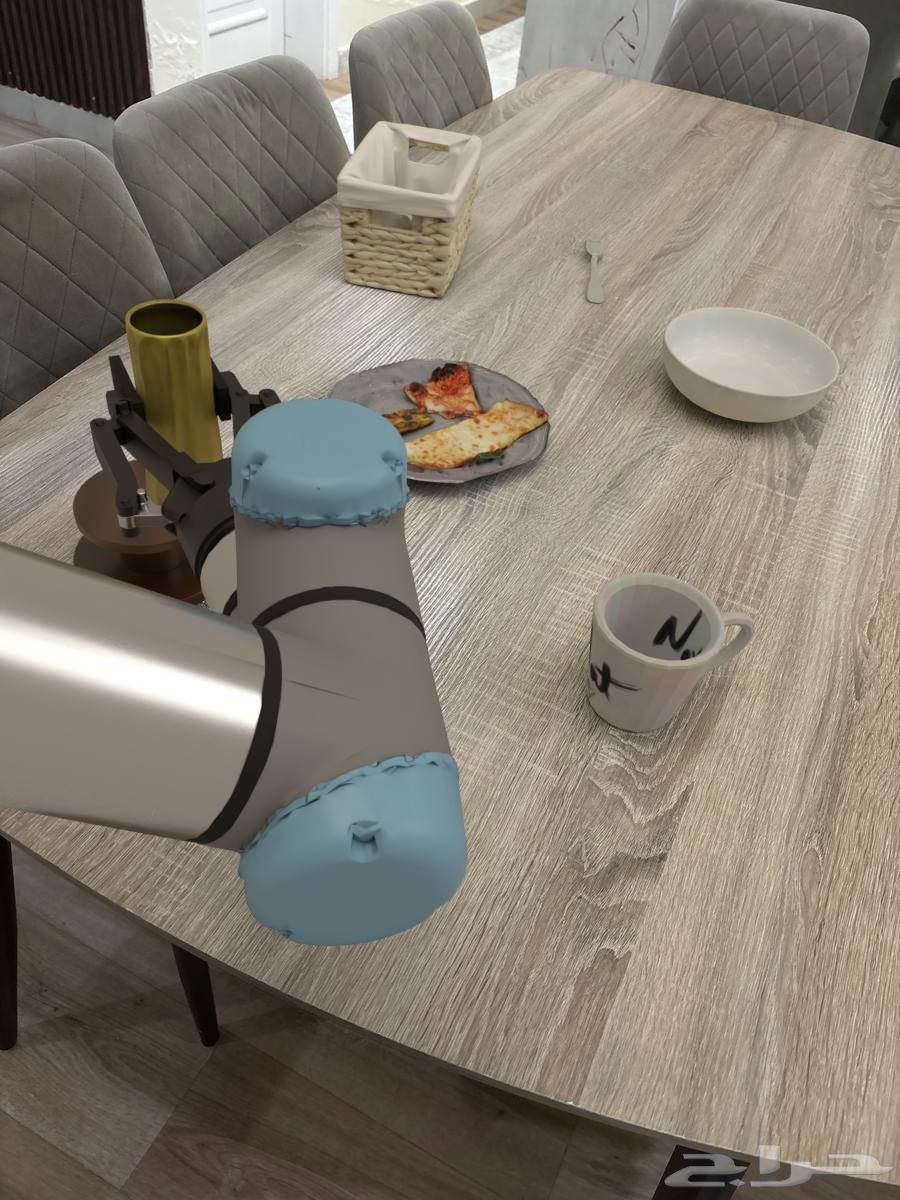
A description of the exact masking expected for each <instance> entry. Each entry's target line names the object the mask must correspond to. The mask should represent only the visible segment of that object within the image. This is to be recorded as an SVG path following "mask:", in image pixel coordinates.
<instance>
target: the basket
mask: <svg viewBox="0 0 900 1200" xmlns="http://www.w3.org/2000/svg"><path fill="white" fill-rule="evenodd" d="M410 147H413V148H416V147H417V148H420V149H428V150H430V151H431V150H434V151H435V152H438V151H439V152H446V153H448V164H447V165H436V164H430V163H424V162H419V161H413V160H410V158H409V153H410ZM483 152H484V142H483V140H482V139H481V137H480V136H478V135H476V134H475V135H474V134H473V135H471V134H466V133H463V132H456V131H450V130H445V129H438V128H433V127H426V126H420V125H415V124H409V123H397V122H391V121H385V120H384V121H383V120H379V121H378V122H376V123H375V124H374V126H372V128H371V129H370V130H369V131H368V132H367V134H366V135H365V136H364V138H363V139H362V140H361V141H360V143H359V144H358V145H357V147H356V149H355V150H354V152H353V153H352V155H351V156H350V157H349V159H348V160H347V161H346V162H345V164H344V166H343V167H342V168H341V170H340V172H339V174H338V175H337V178H336V181H337V186H336V190H337V193H336V204H337V209H338V213H339V216H338V217H339V218H338V219H339V222H340V225H339V227H340V238H341V245H340V246H341V254H342V259H343V262H344V264H343V269H344V270H343V272H344V273H343V274H344V279H345V280H346V281H347V282H348V283H350V284H354V285H360V286H366V287H370V288H375V289H383V290H387V291H392V292H399V293H400V292H401V293H404V294H410V295H419V296H420V297H426V298H442V297H444V296H445V294H446V291H447V290H448V288H449V286H450V283H451V282H452V280H453V278H454V273H455V274H456V272H457V270H458V269H459V268H458V266H459V265H460V263H461V259H462V256H463V255H464V250H465V248H466V245H467V241H468V239H469V235H470V234H469V232H470V228H471V227H470V226H471V222H472V219H471V218H472V213H473V212H474V211H473V209H474V205H473V204H475V202H474V200H475V197H476V189H475V188H476V185H477V181H478V178H479V173H478V172H480V168H481V162H482V160H483Z"/></svg>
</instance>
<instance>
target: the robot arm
mask: <svg viewBox="0 0 900 1200" xmlns="http://www.w3.org/2000/svg"><path fill="white" fill-rule="evenodd" d="M210 357H211V366H212V374H213V382H214V389H215V397H216V406H217V415H218V419H219V420H220V422H227V421H231V420H232V434H233V443H232V448H231V452H230V453H231V455H230V456H229V457H223V458H224V459H221V460H219V461H216V462H211V463H196V462H195V461H194V460H193V459H192V458H191V457H190V456H189V455H188V454H187V453H185V452H181V453H179V452H178V451H177V450H176V449H175V448H174V447H173V446H172V445H170V444H169V443H168V442H167V441H166V440H165V439H164V438H163V437H162V436H161V435H160V434H158V433H157V432H156V431H155V430H154V429H153V428H152V427H151V426H150V425H149V424H147V423H146V422H145V421H144V415H143V409H142V402H141V400H140V398H139V396H138V394H137V393H136V388H135V384H134V382H133V381H132V378H131V377H130V374H129V373H128V371H127V369H126V365H125V364H124V361H123V360H122V358H121V356H120V354H116V355H115V354H114V355H109V356H108V362H109V367H110V373H111V379H112V386H113V389H111V390H106V393H105V401H106V406H107V411H108V414H109V416H110V419H107V418H104V417H96V418H93V419H91V420H90V422H89V428H90V433H91V438H92V443H93V447H94V452H95V456H96V458H97V461H98V463H99V465H100V467H101V470H103V471H104V474H105V476H106V478H107V480H108V482H109V484H110V487H111V489H112V491H113V493H114V495H115V498H116V499H115V504H116V509H117V515H118V520H119V525H120V530H121V535H122V536H123V537H126V538H134V537H137V536H138V535H140V533H141V529H142V527H164V528H165V530H166V531H167V532H168V533H169V534H171V535H173V536H175V537H176V538H177V539H178V540H179V541H180V543H181V546H182V548H183V550H184V552H185V554H186V557H187V559H188V561H189V563H190V566H191V568H192V570H193V572H194V575H195V577H196V579H197V581H198V583H199V585H200V587H201V588H202V593H203V595H204V597H205V601H206V604H207V606H208V608H205V607H202V606H199V605H197V604H196V605H193V604H190V603H187V602H184V601H181V600H178V599H175V598H172V597H169V596H166V595H163V594H160V593H157V592H154V591H150V590H147V589H144V588H141V587H138V586H135V585H132V584H129V583H126V582H123V581H120V580H117V579H114V578H111V577H108V576H105V575H102V574H99V573H96V572H93V571H90V570H86V569H83V568H80V567H77V566H74V564H72V563H68V562H65V561H63V560H59V559H56V558H53V557H49V556H47V555H45V554H40V553H38V552H34V551H33V550H32V551H31V550H28V549H27V548H26V549H25V548H22V547H18V546H17V545H14V544H10V543H7V542H4V541H2V540H0V808H2V809H7V810H12V811H17V812H18V811H19V812H24V813H29V814H34V815H40V816H46V817H51V818H57V819H62V820H66V821H72V822H78V823H83V824H89V825H95V826H100V827H104V828H111V829H116V830H122V831H126V832H131V833H138V834H143V835H148V836H154V837H159V838H160V837H161V838H165V839H170V840H176V841H182V842H187V843H193V844H197V845H199V846H204V847H209V848H214V849H220V850H225V851H231V852H234V853H238V854H239V861H238V868H237V874H238V877H239V878H240V879H242V880H243V886H244V896H245V903H246V905H247V908H248V910H249V912H250V914H251V915H252V916H253V918H254V919H255V920H256V921H257V922H258V923H259V924H260V925H261V926H262V927H263V928H267V929H270V930H272V931H277V932H278V934H279V935H280V936H281V937H282V938H284V939H286V940H288V941H291V942H293V943H297V944H301V945H307V946H316V947H317V946H318V947H338V946H340V947H341V946H353V945H360V944H367V943H371V942H376V941H380V940H383V939H386V938H390V937H393V936H395V935H398V934H401V933H404V932H406V931H408V930H410V929H413V928H414V927H416V926H418V925H420V924H422V923H424V922H425V921H427V920H429V918H430V917H431V916H433V913H435V911H436V910H437V909H439V908H440V907H442V906H443V905H445V904H447V903H449V901H451V900H452V898H453V897H454V896H455V894H456V893H457V891H458V889H459V888H460V886H461V884H462V883H463V880H464V877H465V874H466V872H467V866H468V865H467V864H468V858H469V857H468V856H469V855H468V854H469V853H468V852H469V851H468V843H467V837H466V836H467V835H466V829H465V820H464V813H463V805H462V798H461V797H462V796H461V789H460V778H461V777H460V776H461V775H460V771H459V767H458V764H457V761H456V759H455V758H454V757H453V753H452V749H451V746H450V741H449V736H448V732H447V729H446V723H445V719H444V716H443V711H442V706H441V701H440V698H439V694H438V689H437V685H436V682H435V681H436V680H435V676H434V671H433V668H432V667H433V666H432V664H431V659H430V655H429V648H428V643H427V635H426V631H425V630H426V629H425V627H424V621H423V615H422V610H421V606H420V602H419V597H418V592H417V587H416V583H415V578H414V572H413V569H412V564H411V559H410V554H409V550H408V544H407V539H406V528H405V515H406V507H407V505H408V503H409V502H410V500H411V490H410V488H409V486H408V481H407V480H408V478H407V450H406V446H405V443H404V441H403V439H402V437H401V435H400V434H399V432H398V431H397V429H396V428H395V427H394V426H393V425H392V424H391V423H390V422H389V421H388V420H387V419H386V418H384V417H383V416H381V415H380V414H378V413H376V412H375V411H373V410H371V409H369V408H367V407H364V406H362V405H359V404H356V403H352V402H348V401H345V400H339V399H332V398H328V397H326V398H304V397H303V398H294V399H290V400H285V401H282V400H281V399H280V397H279V395H278V394H277V392H276V390H275V389H272V388H263V389H260V390H259V391H258V394H257V393H256V394H255V393H250V392H249V390H247V389H245V388H243V386H242V384H241V383H240V381H239V380H238V377H237V376H236V375H235V372H233V371H231V370H224V371H220V370H219V368H218V366H217V365H216V362H215V361H214V359H213V358H212V356H211V355H210ZM122 447H123V448H122ZM124 449H125V450H126V451H127V452H128V454H130V455H131V456H132V457H133V458H134V460H137V461H138V462H139V463H140V464H142V465H143V466H144V467H145V468H146V469H147V470H148V471H149V472H150V473H151V474H152V475H153V476H154V477H155V478H156V479H157V480H158V481H159V482H160V483H161V484H162V485H163V486H164V487H165V488H167V489H168V491H169V494H168V495H167V497H166V498H165V500H164V502H163V503H162V505H158V504H155V503H154V502H153V500H152V498H151V497H150V496H148V495H146V490H145V489H138V484H137V479H136V476H135V474H134V472H133V470H132V468H131V466H130V464H129V462H128V461H129V460H128V458H127V456H126V454H125V452H124Z"/></svg>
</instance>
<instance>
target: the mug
mask: <svg viewBox="0 0 900 1200" xmlns="http://www.w3.org/2000/svg"><path fill="white" fill-rule="evenodd" d="M732 626H739V627H740V630H739V632H738V633H737V635H736V636H735V637H734V638H733V639H732V640H731V641H730V642H729V643H728V644H727V645H725V646H724V647H723V645H724V644H725V640H726V630H725V629H726V628H727V627H732ZM755 633H756V631H755V623H754V618H753V617H751V616H750V615H748V614H747V613H745V612H743V611H726V612H720V610H719V608H718V606H717V605H715V603H714V602H713V601H712V600H711V599H710V598H709V596H707V595H706V593H704V592H703V591H701V590H699V589H698V588H697V587H695V586H693V585H692V584H691V583H688V582H687V581H684V580H682V579H679V578H676V577H674V576H671V575H668V574H662V573H657V572H653V571H642V572H641V571H637V572H635V571H633V572H628V573H625V574H621V575H618V576H615V577H613V578H612V579H610V580H609V581H607V582H606V583H604V584H602V587H601V588H600V589H599V591H598V592H597V594H596V595H595V597H594V598H593V604H592V613H591V626H590V639H589V641H590V642H589V654H588V664H587V665H588V666H587V679H586V680H587V681H586V694H587V698H588V701H589V704H590V706H592V708H593V710H594V711H595V713H596V714H597V716H599V717H600V718H601V719H603V720H604V721H605V722H607V724H610V725H611V726H614V727H616V728H618V729H620V730H623V731H628V732H633V733H645V732H646V733H647V732H652V731H654V730H657V729H661V728H662V727H663V726H665V725H666V724H667V723H668V722H670V721H671V720H672V719H673V717H674V716H675V715H676V713H677V711H679V709H680V707H681V706H682V705H683V703H684V702H685V701H686V700H687V698H688V697H689V695H690V694H691V693H692V691H693V689H694V688H695V687H696V685H697V684H698V683H699V681H700V680H701V679H702V678H703V676H704V675H705V674H708V673H710V672H711V671H714V670H715V669H717V668H720V667H721V666H722V665H725V664H726V663H727V662H729V661H731V660H732V659H733V658H735V657H736V656H737V655H739V654H740V653H741V652H742V650H743V649H745V648H746V647H747V646H748V644H749V643H750V642H751V641H752V638H753V637H754V635H755Z"/></svg>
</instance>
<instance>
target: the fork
mask: <svg viewBox="0 0 900 1200" xmlns="http://www.w3.org/2000/svg"><path fill="white" fill-rule="evenodd" d="M590 240H591V241H590ZM598 241H599V242H598ZM585 250H586V252H587V253H589V252H590V253H598V254H600V255H602V254H603V253H604V252H605V243H604V242H603V241H601V240H595V242H594V239H587V240H586V239H585ZM590 253H589V254H590ZM601 253H602V254H601ZM598 269H599V268H598V259H597V260H596V259H592V258H591V257H590V276H589V281H588V284H587V289H586V299H587V301H589V302H590V303H592V304H598V305H599V304H601V303H603V302H604V300H605V291H604V289H603V285H602V283H601V278H600V275H599V270H598Z"/></svg>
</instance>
